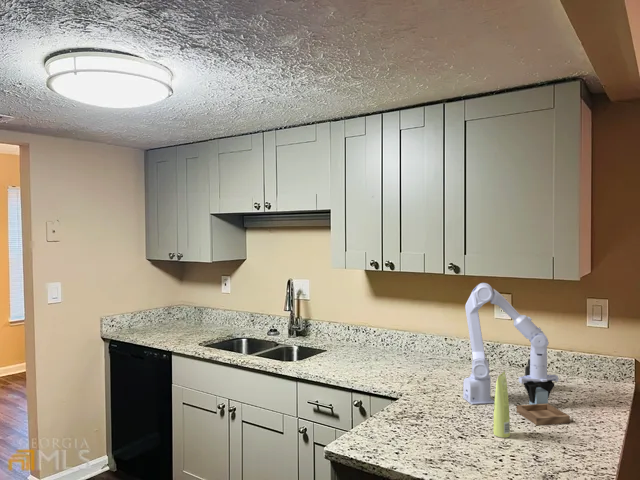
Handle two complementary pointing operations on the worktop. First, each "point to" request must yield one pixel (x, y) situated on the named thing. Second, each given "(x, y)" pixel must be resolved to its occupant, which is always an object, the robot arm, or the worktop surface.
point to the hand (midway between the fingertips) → (538, 401)
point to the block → (540, 396)
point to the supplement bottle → (527, 372)
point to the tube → (501, 408)
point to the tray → (543, 414)
